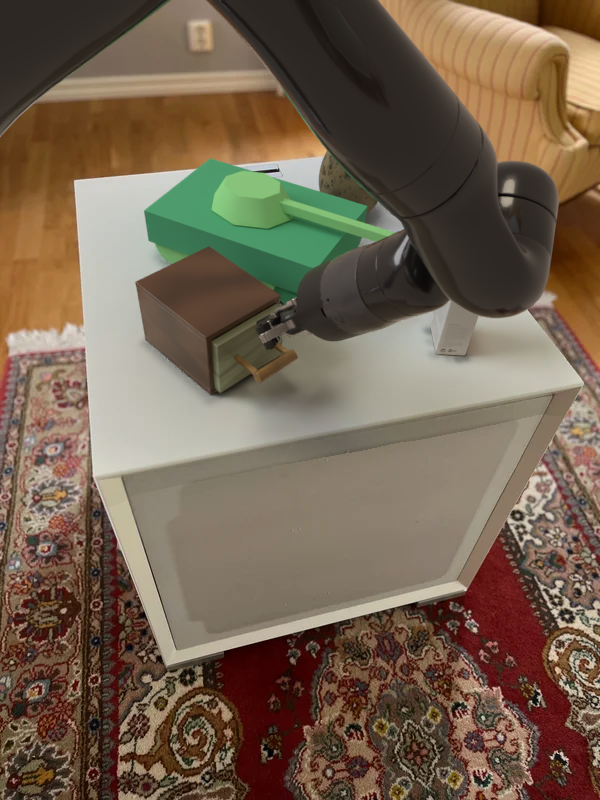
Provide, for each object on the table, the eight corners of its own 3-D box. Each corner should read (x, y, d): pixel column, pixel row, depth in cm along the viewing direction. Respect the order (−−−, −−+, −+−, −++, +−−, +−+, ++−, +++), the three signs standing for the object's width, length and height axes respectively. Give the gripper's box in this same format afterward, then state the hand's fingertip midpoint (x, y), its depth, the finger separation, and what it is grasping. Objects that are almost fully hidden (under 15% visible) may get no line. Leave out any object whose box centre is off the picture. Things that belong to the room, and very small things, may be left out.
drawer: (308, 374, 81) (312, 327, 75) (247, 415, 76) (246, 369, 70) (219, 307, 89) (217, 261, 83) (158, 341, 83) (151, 294, 78)
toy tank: (375, 263, 78) (140, 186, 88) (363, 337, 87) (151, 260, 97) (422, 197, 89) (208, 135, 98) (407, 269, 98) (213, 206, 108)
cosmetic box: (466, 356, 86) (490, 285, 77) (434, 354, 86) (455, 283, 77) (459, 326, 90) (481, 255, 81) (429, 325, 90) (448, 253, 81)
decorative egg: (390, 211, 109) (405, 125, 98) (359, 239, 103) (371, 151, 92) (337, 191, 113) (346, 105, 102) (303, 217, 107) (309, 129, 96)
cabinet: (278, 352, 84) (280, 294, 77) (210, 395, 79) (206, 337, 72) (212, 303, 91) (208, 245, 83) (145, 339, 85) (134, 281, 78)
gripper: (384, 229, 61) (290, 275, 75) (285, 286, 54) (202, 323, 69) (418, 299, 62) (319, 331, 77) (325, 363, 56) (236, 384, 70)
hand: (264, 327), depth 73 cm, fingers closed
